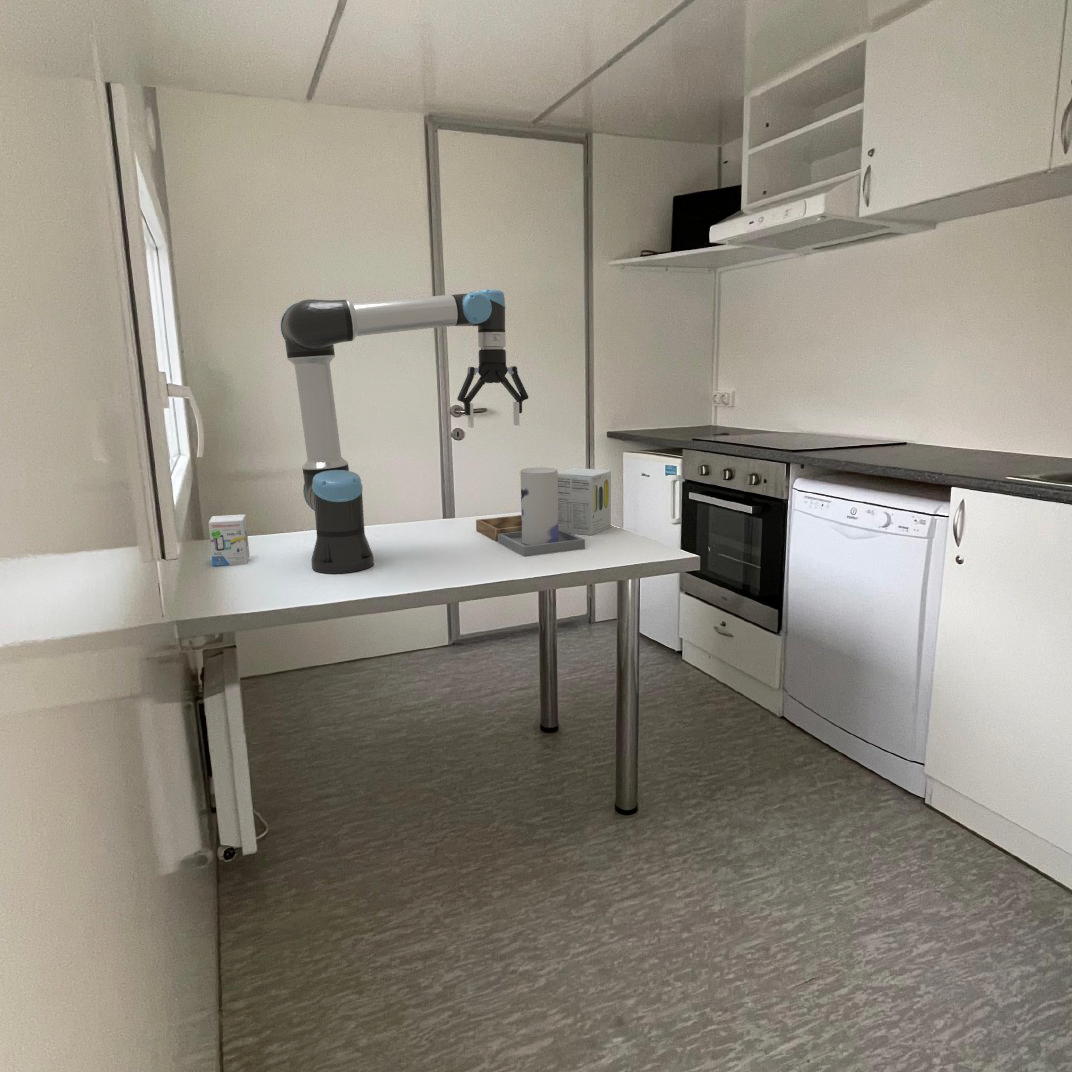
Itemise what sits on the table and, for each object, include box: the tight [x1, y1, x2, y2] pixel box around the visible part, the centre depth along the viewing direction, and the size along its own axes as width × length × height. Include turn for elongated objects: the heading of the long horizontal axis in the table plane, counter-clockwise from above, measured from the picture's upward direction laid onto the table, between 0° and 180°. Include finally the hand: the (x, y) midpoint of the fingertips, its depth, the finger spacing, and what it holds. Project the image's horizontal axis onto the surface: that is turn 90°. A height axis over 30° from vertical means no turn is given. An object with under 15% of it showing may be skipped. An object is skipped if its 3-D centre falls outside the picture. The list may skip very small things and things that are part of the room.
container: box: [519, 467, 559, 545], centre depth 211 cm, size 10×10×20 cm
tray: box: [497, 529, 586, 557], centre depth 213 cm, size 18×18×2 cm
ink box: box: [207, 514, 250, 567], centre depth 201 cm, size 8×8×12 cm
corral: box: [475, 514, 522, 543], centre depth 229 cm, size 16×16×4 cm
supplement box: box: [558, 467, 612, 536], centre depth 231 cm, size 13×13×18 cm
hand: (494, 426), depth 219 cm, fingers open, 13 cm apart
